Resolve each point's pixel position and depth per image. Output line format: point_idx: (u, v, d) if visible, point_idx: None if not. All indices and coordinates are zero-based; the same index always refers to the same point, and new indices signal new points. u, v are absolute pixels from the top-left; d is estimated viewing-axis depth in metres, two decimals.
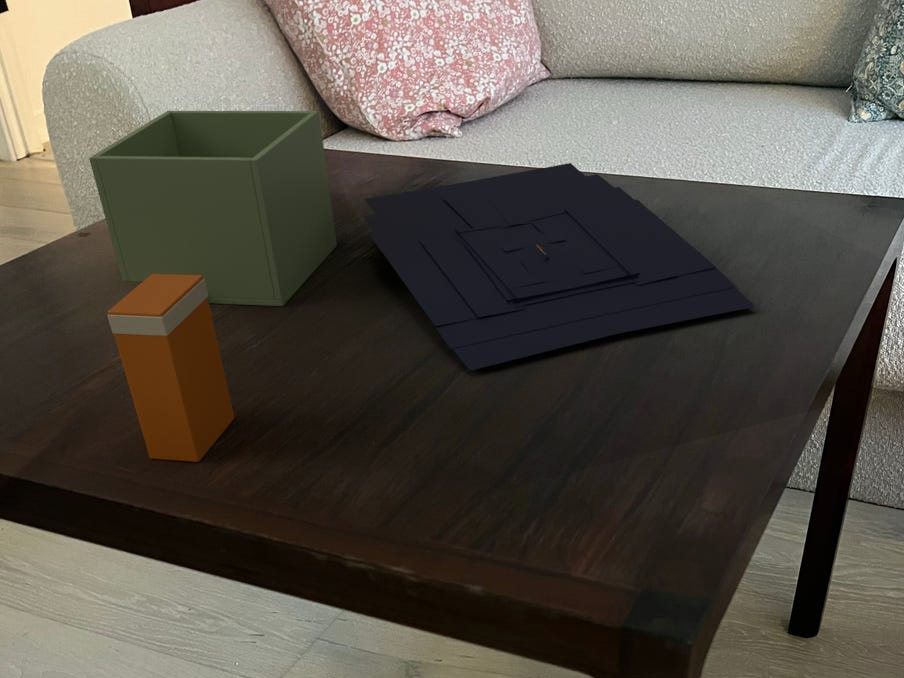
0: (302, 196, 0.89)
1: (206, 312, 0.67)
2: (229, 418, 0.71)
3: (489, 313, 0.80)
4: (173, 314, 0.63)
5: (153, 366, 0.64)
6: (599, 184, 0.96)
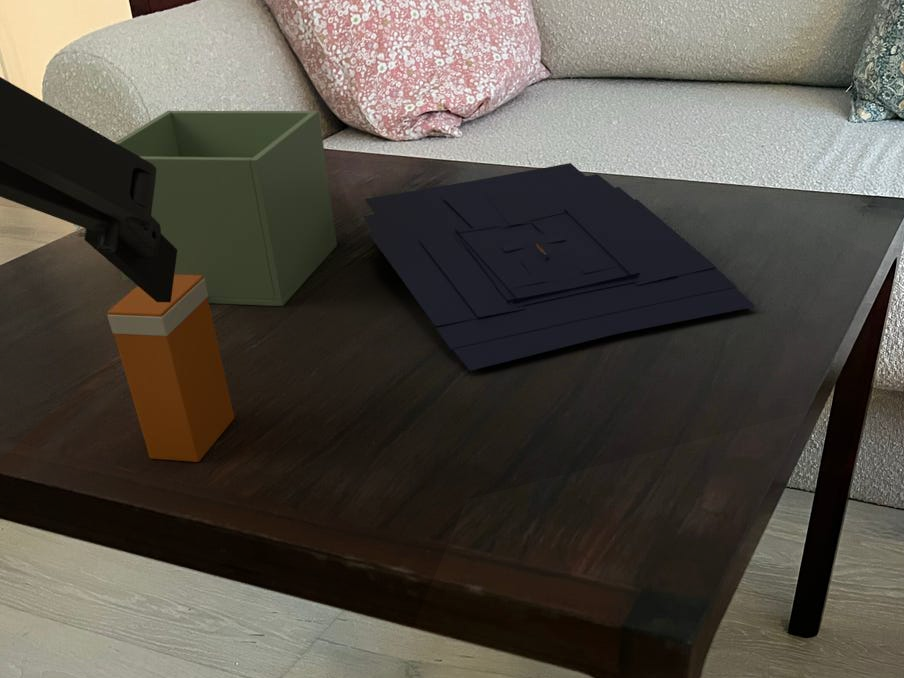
0: (302, 196, 0.89)
1: (206, 312, 0.67)
2: (229, 418, 0.71)
3: (489, 313, 0.80)
4: (173, 314, 0.63)
5: (153, 366, 0.64)
6: (599, 184, 0.96)
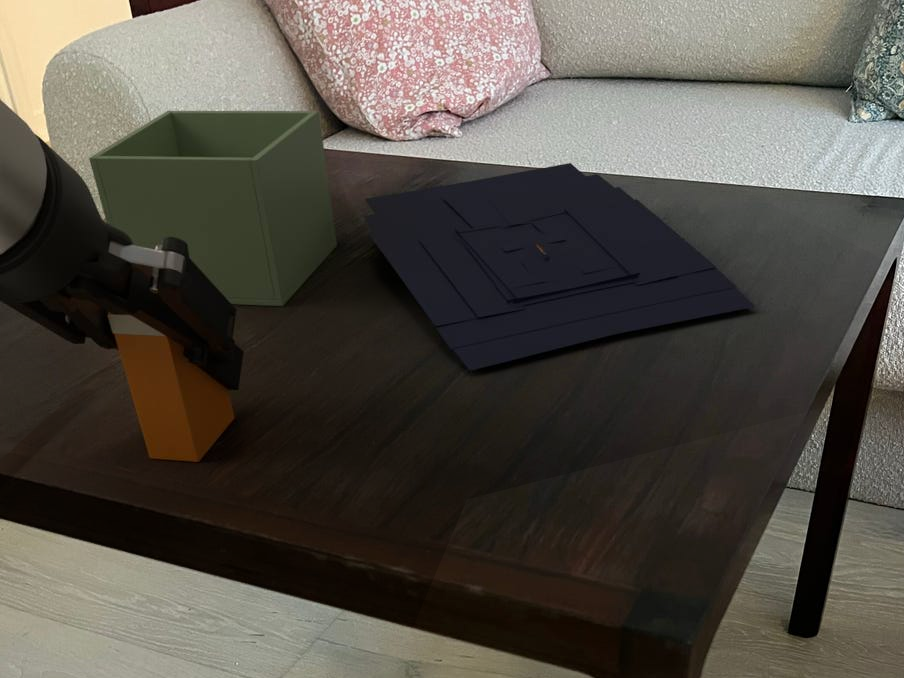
0: (302, 196, 0.89)
1: None
2: (229, 418, 0.71)
3: (489, 313, 0.80)
4: None
5: (153, 366, 0.64)
6: (599, 184, 0.96)
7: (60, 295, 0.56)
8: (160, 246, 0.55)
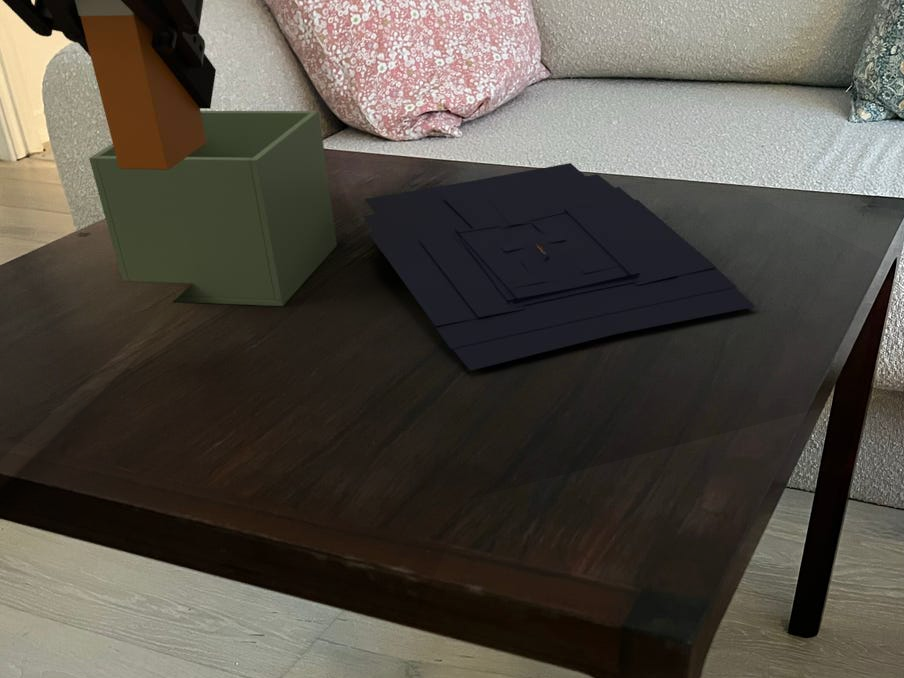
0: (302, 196, 0.89)
1: None
2: (201, 140, 0.70)
3: (489, 313, 0.80)
4: None
5: (120, 54, 0.63)
6: (599, 184, 0.96)
7: None
8: None
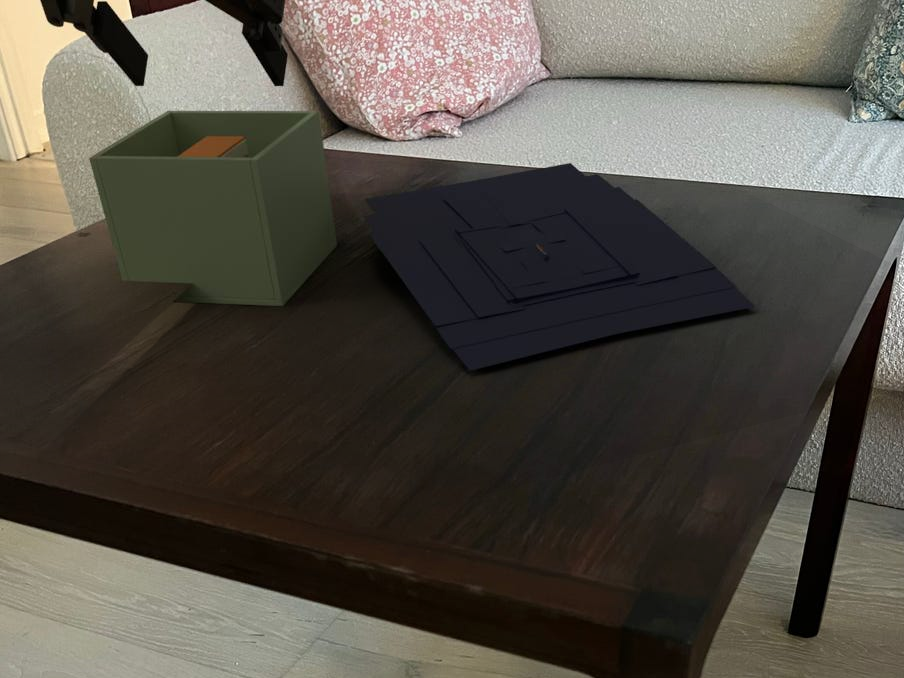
0: (302, 196, 0.89)
1: None
2: None
3: (489, 313, 0.80)
4: None
5: None
6: (599, 184, 0.96)
7: None
8: None
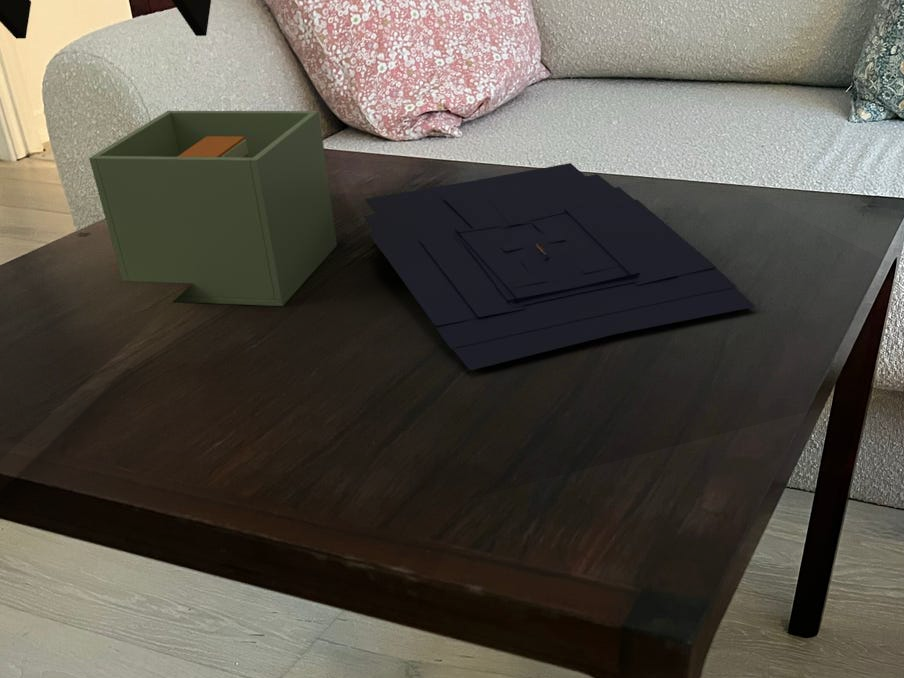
0: (302, 196, 0.89)
1: None
2: None
3: (489, 313, 0.80)
4: None
5: None
6: (599, 184, 0.96)
7: None
8: None
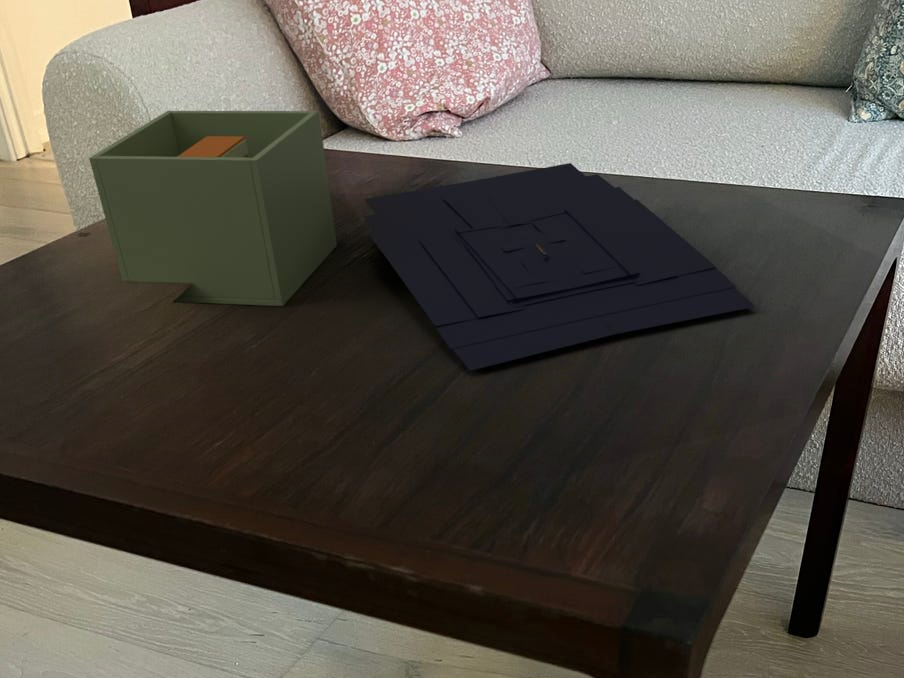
0: (302, 196, 0.89)
1: None
2: None
3: (489, 313, 0.80)
4: None
5: None
6: (599, 184, 0.96)
7: None
8: None
